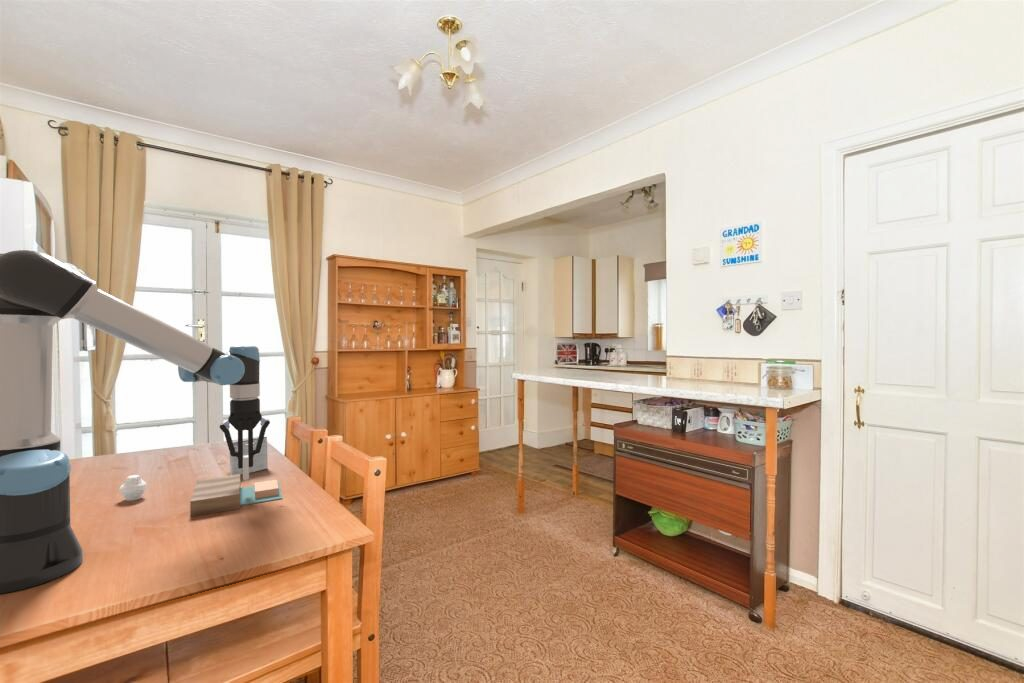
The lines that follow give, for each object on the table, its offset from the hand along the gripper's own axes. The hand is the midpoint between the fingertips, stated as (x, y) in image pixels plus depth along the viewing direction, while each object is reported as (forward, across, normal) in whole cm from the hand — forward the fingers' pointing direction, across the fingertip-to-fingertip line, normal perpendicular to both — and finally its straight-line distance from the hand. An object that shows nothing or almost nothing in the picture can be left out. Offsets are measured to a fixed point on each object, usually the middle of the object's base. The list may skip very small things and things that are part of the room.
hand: (245, 478), depth 133 cm
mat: (+5, -4, 0) cm, 6 cm away
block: (+3, -5, 0) cm, 6 cm away
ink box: (+6, -1, -26) cm, 27 cm away
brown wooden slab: (+5, +7, 0) cm, 9 cm away
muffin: (+5, +28, -14) cm, 32 cm away
